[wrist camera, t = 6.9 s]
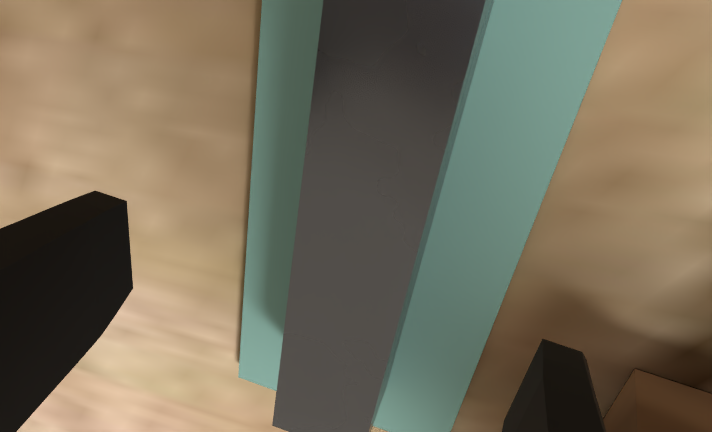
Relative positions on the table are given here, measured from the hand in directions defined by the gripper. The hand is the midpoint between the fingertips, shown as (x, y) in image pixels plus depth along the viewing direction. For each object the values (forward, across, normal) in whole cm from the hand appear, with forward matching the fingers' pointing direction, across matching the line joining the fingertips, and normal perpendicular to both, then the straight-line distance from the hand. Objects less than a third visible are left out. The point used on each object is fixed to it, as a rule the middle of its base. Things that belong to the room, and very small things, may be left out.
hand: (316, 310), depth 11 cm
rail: (+5, 0, 0) cm, 5 cm away
